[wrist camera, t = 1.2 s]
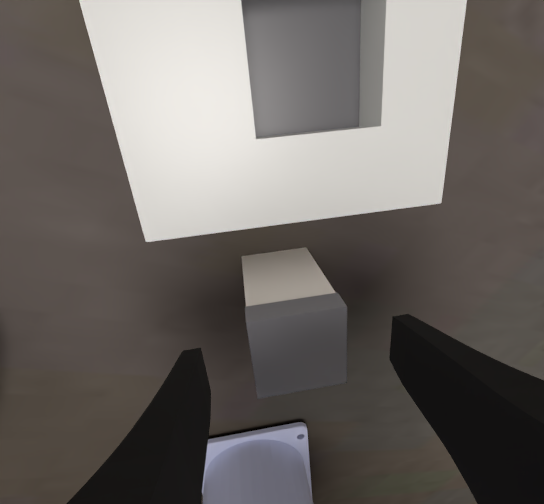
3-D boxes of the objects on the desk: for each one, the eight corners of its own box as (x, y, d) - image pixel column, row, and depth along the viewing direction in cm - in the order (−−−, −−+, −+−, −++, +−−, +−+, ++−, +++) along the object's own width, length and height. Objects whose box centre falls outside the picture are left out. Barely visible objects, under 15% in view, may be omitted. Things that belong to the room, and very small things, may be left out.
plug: (310, 303, 18) (347, 383, 12) (248, 312, 17) (257, 398, 12) (306, 246, 16) (347, 306, 11) (240, 255, 16) (246, 322, 10)
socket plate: (411, 192, 16) (450, 206, 13) (158, 225, 15) (141, 247, 12) (446, -213, 10) (525, -337, 8) (48, -210, 9) (-29, -354, 6)
